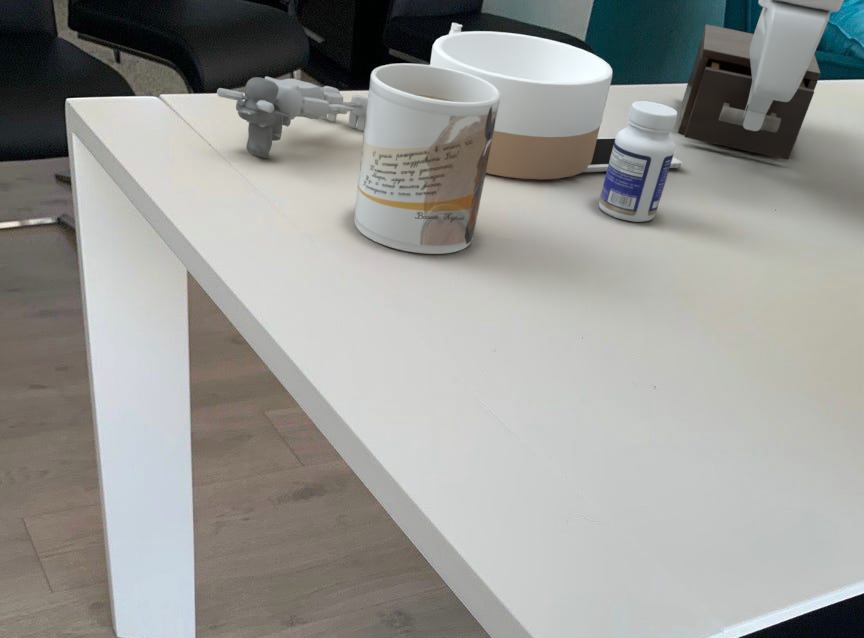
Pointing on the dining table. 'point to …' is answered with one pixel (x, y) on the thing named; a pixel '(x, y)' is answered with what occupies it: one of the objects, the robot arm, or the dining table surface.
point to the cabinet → (726, 49)
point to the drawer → (725, 107)
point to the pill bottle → (639, 163)
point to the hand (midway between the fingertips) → (750, 126)
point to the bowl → (534, 99)
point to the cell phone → (604, 154)
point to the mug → (424, 157)
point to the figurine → (288, 108)
